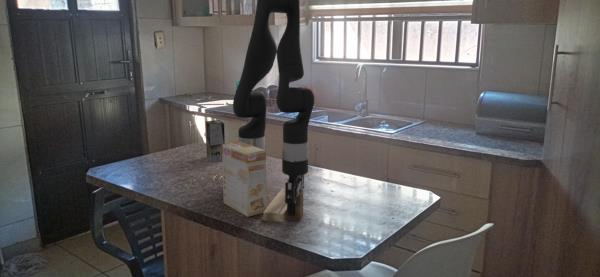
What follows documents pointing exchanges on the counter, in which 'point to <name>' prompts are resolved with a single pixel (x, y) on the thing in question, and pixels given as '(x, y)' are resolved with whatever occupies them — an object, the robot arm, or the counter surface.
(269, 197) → the counter surface
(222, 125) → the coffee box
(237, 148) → the coffeecake box
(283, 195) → the board
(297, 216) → the brown block with peg
